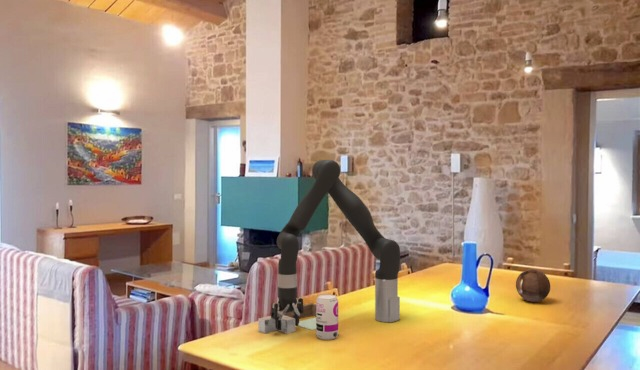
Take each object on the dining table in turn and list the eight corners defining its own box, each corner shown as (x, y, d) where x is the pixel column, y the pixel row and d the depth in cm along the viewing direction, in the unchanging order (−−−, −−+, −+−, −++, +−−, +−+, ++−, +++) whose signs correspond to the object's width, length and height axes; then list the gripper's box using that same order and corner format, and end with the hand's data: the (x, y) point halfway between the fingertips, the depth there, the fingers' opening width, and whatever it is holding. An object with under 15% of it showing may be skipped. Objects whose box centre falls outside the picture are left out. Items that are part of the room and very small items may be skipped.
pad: (334, 324, 214) (334, 323, 214) (312, 330, 206) (312, 329, 206) (313, 318, 223) (313, 317, 223) (291, 324, 214) (291, 323, 214)
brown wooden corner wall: (334, 320, 219) (334, 308, 219) (299, 330, 206) (299, 317, 206) (312, 314, 229) (311, 302, 229) (277, 323, 216) (277, 310, 216)
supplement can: (341, 334, 200) (340, 294, 200) (334, 341, 192) (334, 299, 192) (320, 332, 203) (320, 293, 202) (313, 339, 195) (313, 298, 194)
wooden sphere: (544, 298, 257) (544, 267, 257) (554, 305, 242) (555, 272, 242) (512, 297, 259) (512, 266, 258) (520, 305, 244) (520, 272, 243)
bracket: (295, 331, 204) (295, 318, 204) (274, 337, 198) (274, 323, 197) (278, 326, 212) (278, 313, 212) (258, 331, 205) (258, 318, 205)
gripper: (279, 289, 197) (279, 333, 197) (307, 284, 206) (307, 325, 207) (266, 286, 202) (266, 329, 202) (295, 281, 212) (295, 322, 212)
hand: (287, 327), depth 204 cm, fingers open, 8 cm apart
